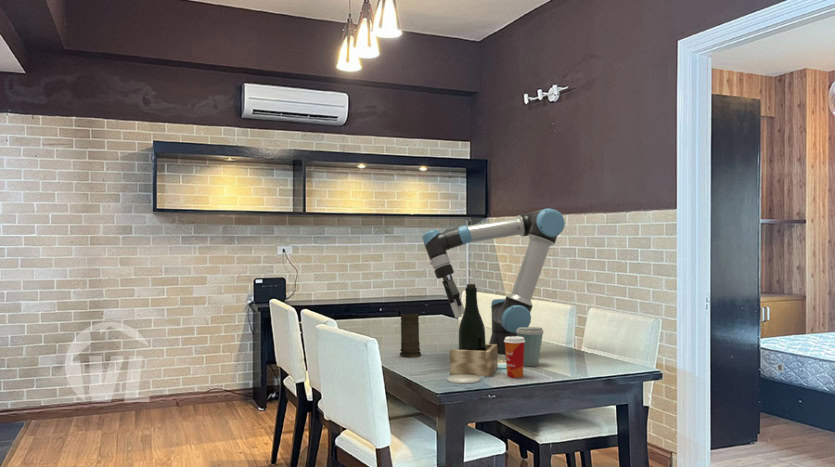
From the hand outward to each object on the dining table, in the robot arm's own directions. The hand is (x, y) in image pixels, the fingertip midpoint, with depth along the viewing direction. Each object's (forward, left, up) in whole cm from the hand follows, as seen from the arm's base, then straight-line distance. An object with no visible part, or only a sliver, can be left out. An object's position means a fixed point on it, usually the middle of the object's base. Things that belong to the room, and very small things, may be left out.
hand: (460, 315), depth 258 cm
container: (+20, -18, -19) cm, 33 cm away
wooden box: (-2, +16, -19) cm, 25 cm away
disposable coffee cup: (-26, +8, -19) cm, 33 cm away
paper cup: (-16, +27, -19) cm, 37 cm away
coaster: (+3, +30, -19) cm, 35 cm away
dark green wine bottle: (-2, +16, -19) cm, 25 cm away
